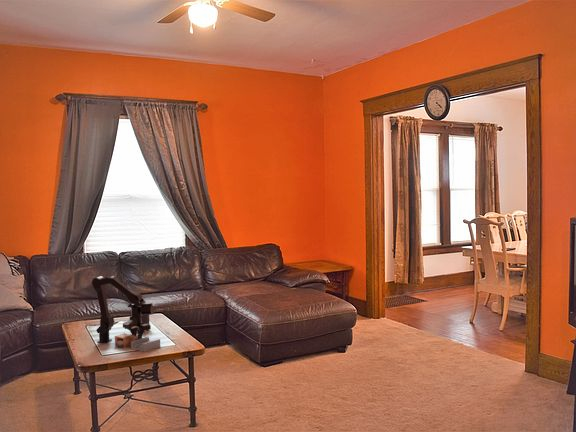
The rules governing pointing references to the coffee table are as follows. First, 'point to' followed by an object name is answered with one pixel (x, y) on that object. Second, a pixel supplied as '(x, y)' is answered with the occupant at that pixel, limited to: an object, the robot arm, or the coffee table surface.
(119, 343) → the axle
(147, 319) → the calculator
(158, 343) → the v block
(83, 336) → the coffee table surface
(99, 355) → the coffee table surface
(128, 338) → the orange brown notched block
